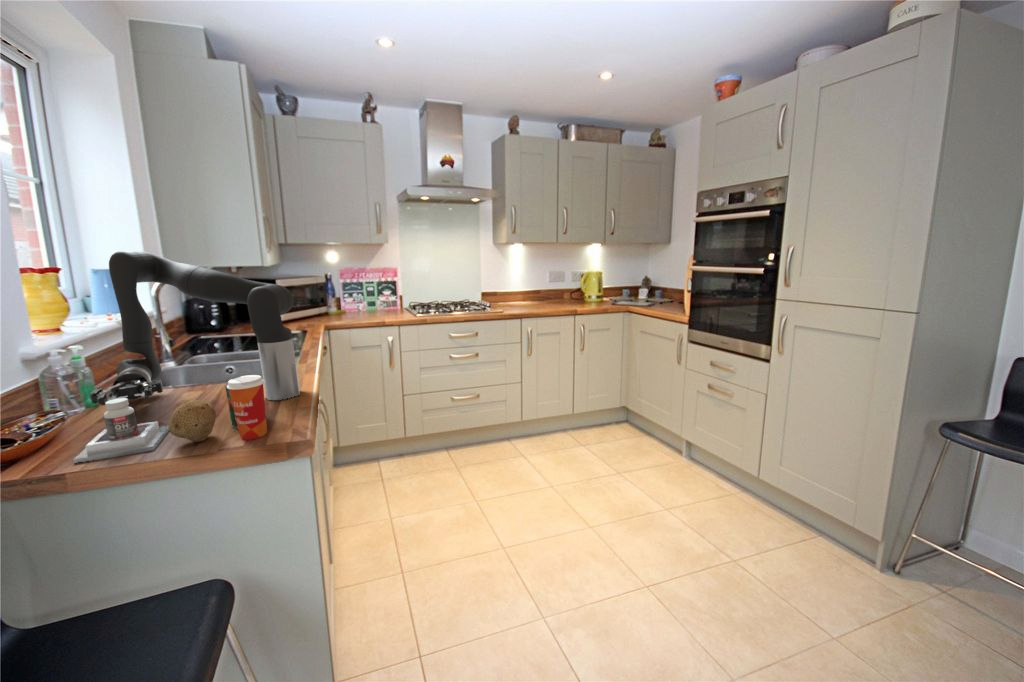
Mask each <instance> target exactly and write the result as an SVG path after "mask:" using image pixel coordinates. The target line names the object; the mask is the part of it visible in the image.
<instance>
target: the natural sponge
mask: <svg viewBox="0 0 1024 682" xmlns="http://www.w3.org/2000/svg"><path fill="white" fill-rule="evenodd" d="M216 416H217V415H216V410H215V408H214V407H213V405H211V404H210V403H208V402H206V401H204V400H199V399H198V400H197V399H196V400H187V401H185V402H183V403H182V404H180V405H178V406H177V407H176V408H175V410H174V411H173V413H172V415H171V417H170V420H169V424H168V425H169V432H170V434H171V435H172V436H173V437H176V438H181V439H186V440H189V441H190V442H195V443H200V442H203V441H205V440H206V439H207V438H208V437H209V436H211V434H212V431H213V429H214V427H215V422H216Z"/></svg>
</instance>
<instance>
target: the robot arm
mask: <svg viewBox="0 0 1024 682" xmlns="http://www.w3.org/2000/svg"><path fill="white" fill-rule="evenodd" d="M108 270H109V276H110V278H111V282H112V283H111V284H112V286H113V291H114V294H115V299H116V302H117V305H118V310H119V313H120V319H121V330H122V335H121V336H122V347H123V349H124V351H125V352H128V353H132V354H133V353H134V354H139V355H142V356H143V357H144V358H128V359H122V360H121V361H120V362H119V363H118V364H117V367H116V374H117V377H115V380H114V381H113V384H112V386H109V387H107V388H106V389H103V388H102V387H96V388H95V389H94V390H93V391H91V392H90V395H89V396H90V399H91V403H92V404H98V405H101V406H106V405H105V403H106V402H107V401H110V400H113V399H119V398H127V399H128V401H133V400H138V399H140V398H142V397H144V396H145V397H144V398H145V399H149V398H150V397H151V396H153V395H154V394H155V393H158V394H160V393H163V392H164V390H163V389H164V388H163V383H162V379H161V378H160V377H161V375H162V366H161V363H160V361H159V359H158V358H157V354H156V352H155V348H154V342H153V341H154V340H153V325H152V322H151V319H150V317H149V315H148V314H147V311H146V310H145V309H144V308H143V306H142V304H141V302H140V300H139V297H138V292H137V290H138V289H137V287H138V286H137V285H138V284H139V283H160V284H165V285H170V286H172V287H175V288H176V289H178V290H179V291H180V292H182V293H183V294H185V295H186V296H189V297H192V298H195V299H198V300H199V299H200V300H202V301H203V300H204V301H206V302H207V301H209V302H213V303H224V304H225V303H228V304H230V303H231V304H244V305H246V306H247V310H248V316H249V320H250V325H251V330H252V331H253V334H254V335H255V337H256V341H257V348H258V354H259V359H260V360H259V361H260V367H261V372H262V373H261V374H262V375H261V376H262V380H264V383H263V389H264V395H265V398H267V399H266V400H269V401H282V399H283V400H287V398H288V399H292V398H295V397H299V396H298V395H301V387H300V381H299V375H298V374H299V373H298V366H297V365H298V364H297V361H296V355H295V347H294V340H293V334H292V329H291V328H289V327H287V326H285V325H284V324H283V320H282V315H285V314H287V313H288V312H289V311H290V310H291V309H292V308H293V306H294V303H295V301H294V300H295V299H294V296H293V294H292V292H291V291H290V290H289V289H288V288H286V287H285V286H284V285H280V284H275V283H269V282H268V283H267V282H260V281H255V280H250V279H246V278H243V277H240V276H237V275H233V274H230V273H225V272H222V271H219V270H216V269H211V268H207V267H204V266H200V265H199V266H198V265H194V264H190V263H184V262H183V263H182V262H177V261H174V260H171V259H168V258H166V257H162V256H160V255H158V254H155V253H152V252H148V251H143V250H119V251H116V252H114V253H113V254H111V256H110V257H109V261H108ZM294 396H295V397H294ZM291 397H292V398H291Z"/></svg>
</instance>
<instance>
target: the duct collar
mask: <svg viewBox="0 0 1024 682" xmlns="http://www.w3.org/2000/svg"><path fill="white" fill-rule="evenodd" d="M137 426H138V431H139V436H134V437H128V438H121V439H115V440H109V437H108V433H107V428H104V429H103V430H102V431H101V432H99V433H98V434H97V435H96V436H94V437H93V438H92V439H91V440H90V441H89V442H88V443H87V444H86V445H85V448H84V449H83V450H82V451H81V452H80V453H79V454H78V455H77V456H75V457H74V458H73V459H72V461H73V464H74V463H77V464H79V463H78V462H83V463H86V462H85V461H89V462H93V460H94V461H99V460H106V459H111V458H119V457H122V456H130V455H134V454H140V453H141V454H142V453H147V452H152V451H155V449H156V448H157V447H158V446H159V444H160V443H161V442H162V441H163V440H164V438H165V436H167V434H168V433H169V432H170V430H169V424H165V425H161V426H159V421H158V420H156V421H151V422H150V421H149V422H143V423H142V422H141V423H137Z"/></svg>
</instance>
